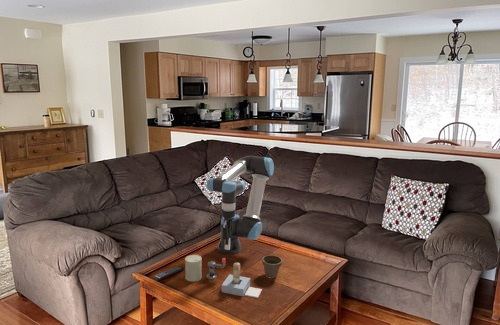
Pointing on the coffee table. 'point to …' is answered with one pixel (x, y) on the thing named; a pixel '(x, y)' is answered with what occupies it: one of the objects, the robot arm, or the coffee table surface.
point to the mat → (253, 292)
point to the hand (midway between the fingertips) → (227, 249)
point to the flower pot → (271, 265)
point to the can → (193, 267)
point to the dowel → (236, 273)
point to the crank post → (211, 274)
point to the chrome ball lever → (213, 264)
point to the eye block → (236, 286)
